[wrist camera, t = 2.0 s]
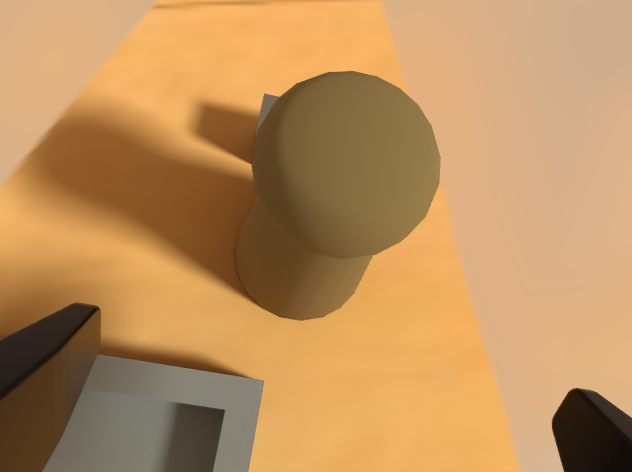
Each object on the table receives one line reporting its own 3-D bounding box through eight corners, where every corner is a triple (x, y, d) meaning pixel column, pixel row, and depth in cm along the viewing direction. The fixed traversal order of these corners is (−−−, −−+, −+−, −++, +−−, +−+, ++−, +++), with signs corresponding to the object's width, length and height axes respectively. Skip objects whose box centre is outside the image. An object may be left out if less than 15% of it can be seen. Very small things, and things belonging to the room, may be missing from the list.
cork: (206, 267, 21) (182, 149, 11) (285, 170, 23) (328, -6, 13) (317, 348, 21) (401, 305, 11) (387, 243, 23) (514, 121, 13)
